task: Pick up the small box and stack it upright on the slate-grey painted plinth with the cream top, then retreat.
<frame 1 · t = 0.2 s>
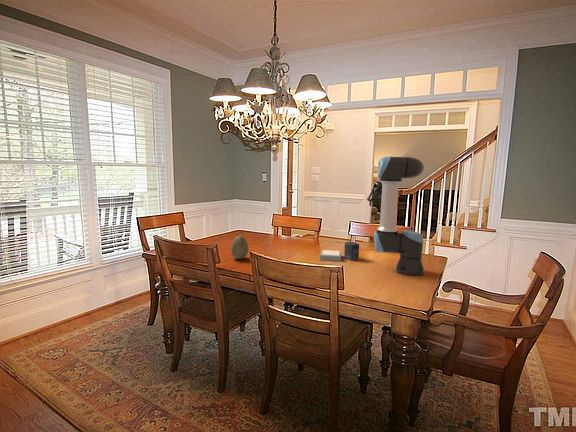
hand: (381, 211, 237), 28 cm above the table, fingers open, 13 cm apart
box: (351, 259, 215), on the table
decorative egg: (239, 259, 210), on the table
plinth: (330, 257, 216), on the table
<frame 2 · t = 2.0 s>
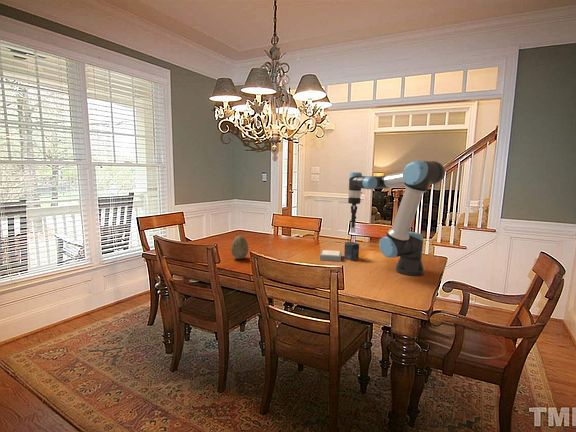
hand: (352, 230, 212), 19 cm above the table, fingers open, 13 cm apart
nothing on the table moved.
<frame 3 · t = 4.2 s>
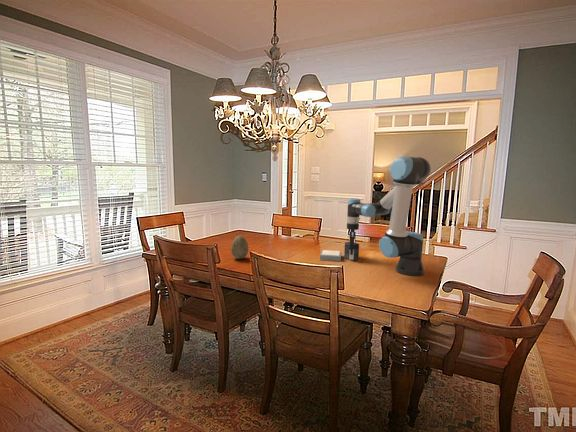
hand: (351, 257, 215), 1 cm above the table, fingers closed on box, 9 cm apart
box: (351, 259, 215), on the table, touching gripper
everything else where it was.
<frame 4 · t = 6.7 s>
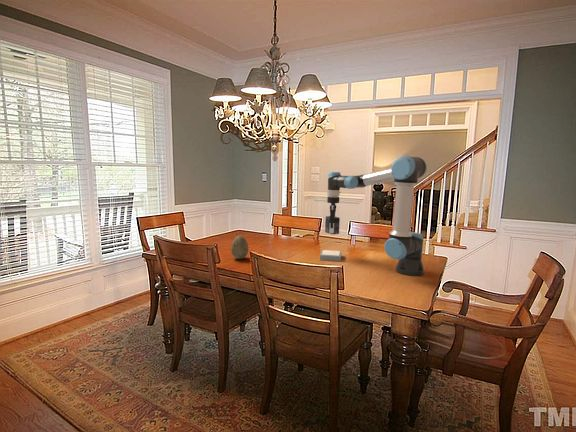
hand: (332, 231, 214), 17 cm above the table, fingers closed on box, 9 cm apart
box: (331, 233, 214), point 16 cm above the table, touching gripper
everything else where it was.
when the fingers open (6 cm above the table, at t = 9.2 s): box drops 1 cm, resting on plinth.
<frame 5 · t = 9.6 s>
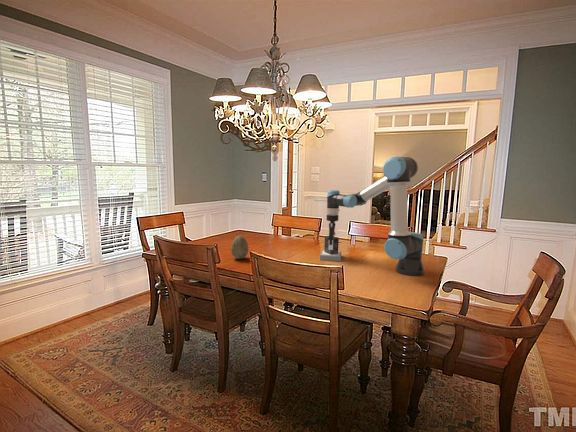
hand: (331, 247, 215), 7 cm above the table, fingers open, 13 cm apart
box: (331, 253, 216), point 3 cm above the table, touching plinth
everything else where it was.
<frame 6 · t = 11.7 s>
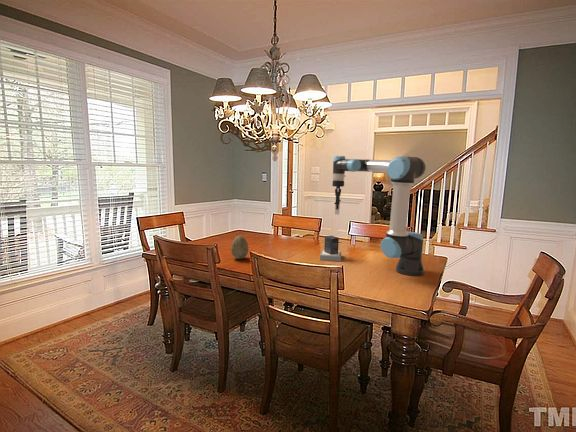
hand: (337, 212, 218), 29 cm above the table, fingers open, 13 cm apart
nothing on the table moved.
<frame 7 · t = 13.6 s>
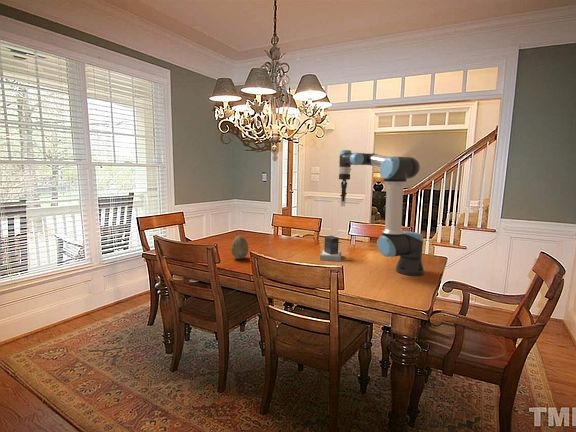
hand: (343, 205, 227), 33 cm above the table, fingers open, 13 cm apart
nothing on the table moved.
at the end: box inside the target area on the plinth (0.1 cm from its centre), point 3.2 cm above the plinth's base; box tilted 0°; the gripper is holding nothing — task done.
